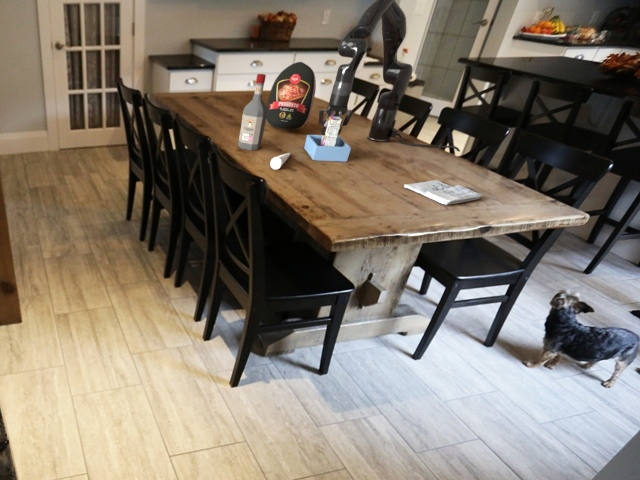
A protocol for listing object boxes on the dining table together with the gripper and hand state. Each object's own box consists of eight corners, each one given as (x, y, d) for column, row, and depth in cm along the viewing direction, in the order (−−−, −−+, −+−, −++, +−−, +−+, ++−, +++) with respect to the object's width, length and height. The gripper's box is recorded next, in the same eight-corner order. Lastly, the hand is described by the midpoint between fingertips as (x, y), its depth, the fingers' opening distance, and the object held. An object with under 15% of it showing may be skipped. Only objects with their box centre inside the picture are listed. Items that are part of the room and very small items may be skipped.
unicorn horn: (298, 156, 219) (300, 145, 216) (279, 171, 203) (282, 159, 200) (287, 154, 221) (290, 143, 218) (268, 168, 205) (271, 157, 202)
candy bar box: (317, 150, 227) (327, 112, 216) (329, 151, 226) (339, 113, 216) (320, 158, 218) (330, 118, 208) (332, 159, 217) (343, 119, 207)
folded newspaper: (446, 206, 177) (448, 201, 176) (401, 187, 191) (403, 181, 190) (482, 199, 183) (485, 194, 182) (436, 181, 198) (438, 175, 196)
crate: (335, 149, 229) (339, 135, 225) (346, 161, 215) (351, 147, 211) (304, 148, 229) (307, 134, 225) (313, 160, 215) (316, 146, 212)
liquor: (255, 151, 223) (268, 77, 205) (236, 147, 227) (247, 75, 208) (262, 146, 229) (275, 74, 211) (243, 143, 233) (255, 71, 215)
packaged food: (260, 130, 251) (272, 63, 232) (266, 121, 265) (278, 58, 247) (304, 136, 245) (320, 68, 226) (308, 126, 259) (323, 61, 241)
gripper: (355, 91, 209) (344, 133, 219) (321, 90, 209) (311, 132, 220) (361, 95, 203) (348, 138, 214) (325, 94, 204) (315, 137, 214)
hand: (329, 135), depth 217 cm, fingers closed on candy bar box, 5 cm apart
